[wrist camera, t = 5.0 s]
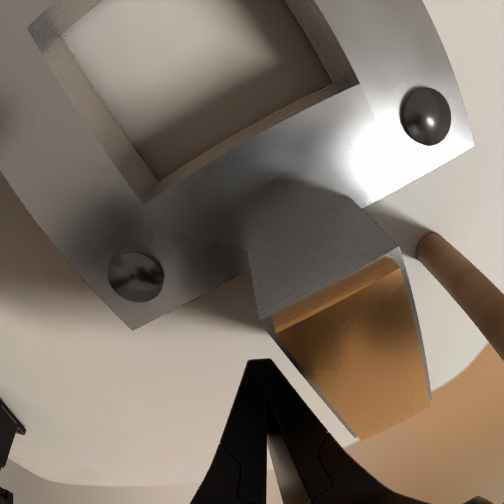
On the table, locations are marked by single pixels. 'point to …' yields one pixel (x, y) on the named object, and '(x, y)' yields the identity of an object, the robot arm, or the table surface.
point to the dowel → (466, 287)
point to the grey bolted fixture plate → (252, 194)
